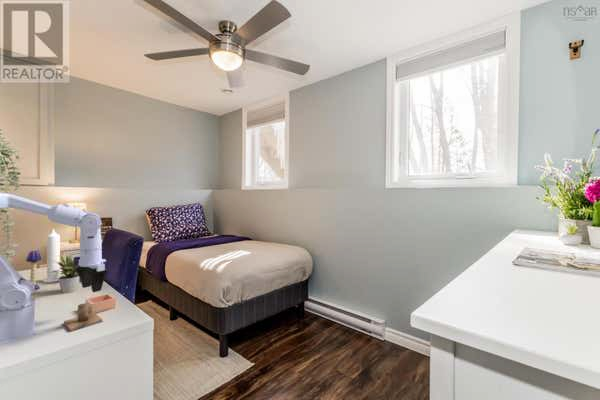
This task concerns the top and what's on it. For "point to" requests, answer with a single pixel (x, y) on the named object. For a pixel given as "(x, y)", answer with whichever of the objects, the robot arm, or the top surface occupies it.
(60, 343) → the top surface
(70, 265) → the house plant
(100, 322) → the mat
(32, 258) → the toy lamp
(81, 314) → the lid
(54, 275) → the candle
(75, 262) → the energy drink
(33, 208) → the robot arm
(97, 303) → the open box
